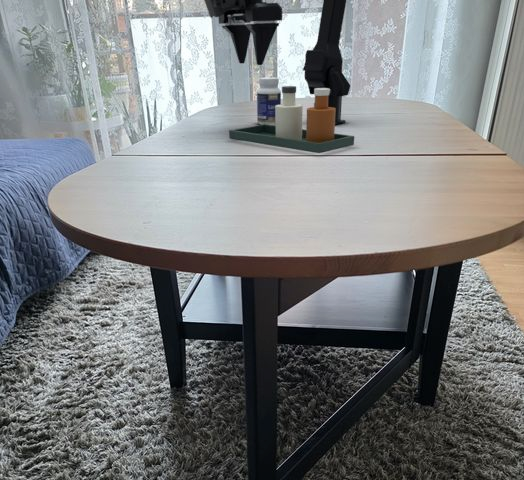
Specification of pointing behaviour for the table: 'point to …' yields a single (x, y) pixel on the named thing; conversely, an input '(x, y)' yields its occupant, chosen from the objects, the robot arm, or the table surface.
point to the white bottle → (289, 115)
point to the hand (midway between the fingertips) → (250, 64)
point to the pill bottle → (267, 100)
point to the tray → (268, 137)
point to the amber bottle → (320, 118)
